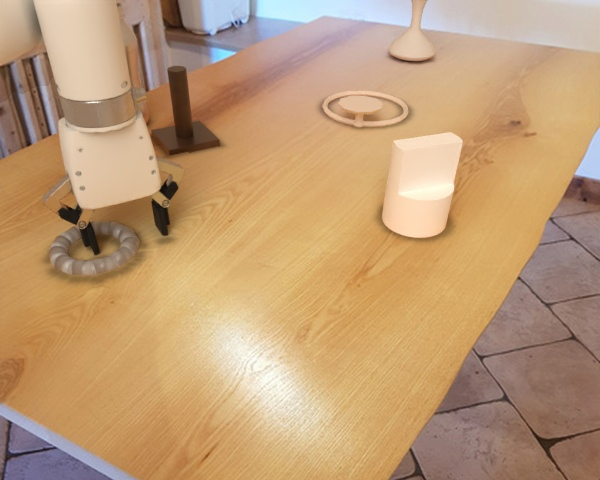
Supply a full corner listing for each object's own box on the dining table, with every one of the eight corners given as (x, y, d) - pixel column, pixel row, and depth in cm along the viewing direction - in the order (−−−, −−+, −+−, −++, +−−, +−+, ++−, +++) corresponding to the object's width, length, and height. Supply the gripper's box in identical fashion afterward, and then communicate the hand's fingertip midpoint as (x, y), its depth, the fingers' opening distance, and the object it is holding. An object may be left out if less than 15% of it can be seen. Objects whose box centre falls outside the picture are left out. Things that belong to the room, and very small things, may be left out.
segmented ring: (62, 292, 64) (57, 277, 63) (44, 245, 71) (39, 231, 70) (151, 265, 68) (148, 251, 67) (126, 224, 75) (123, 210, 74)
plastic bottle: (139, 116, 104) (118, -2, 91) (158, 127, 100) (139, 6, 87) (107, 125, 100) (81, 3, 87) (126, 137, 97) (101, 12, 84)
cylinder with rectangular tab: (425, 200, 82) (440, 123, 74) (458, 232, 75) (478, 151, 68) (370, 210, 79) (380, 131, 72) (400, 244, 73) (414, 161, 65)
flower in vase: (377, 56, 134) (390, -65, 118) (407, 47, 140) (423, -70, 124) (420, 70, 127) (440, -57, 111) (449, 60, 133) (472, -62, 117)
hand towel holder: (415, 79, 110) (405, 118, 95) (412, 100, 113) (401, 142, 97) (332, 70, 113) (309, 106, 97) (331, 91, 115) (309, 129, 100)
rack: (170, 158, 91) (158, 81, 82) (152, 138, 96) (140, 64, 88) (220, 147, 94) (214, 72, 86) (200, 128, 100) (192, 56, 92)
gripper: (164, 82, 65) (182, 209, 77) (7, 108, 58) (53, 243, 70) (187, 103, 60) (202, 235, 72) (19, 134, 54) (66, 275, 65)
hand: (128, 238), depth 71 cm, fingers open, 8 cm apart
